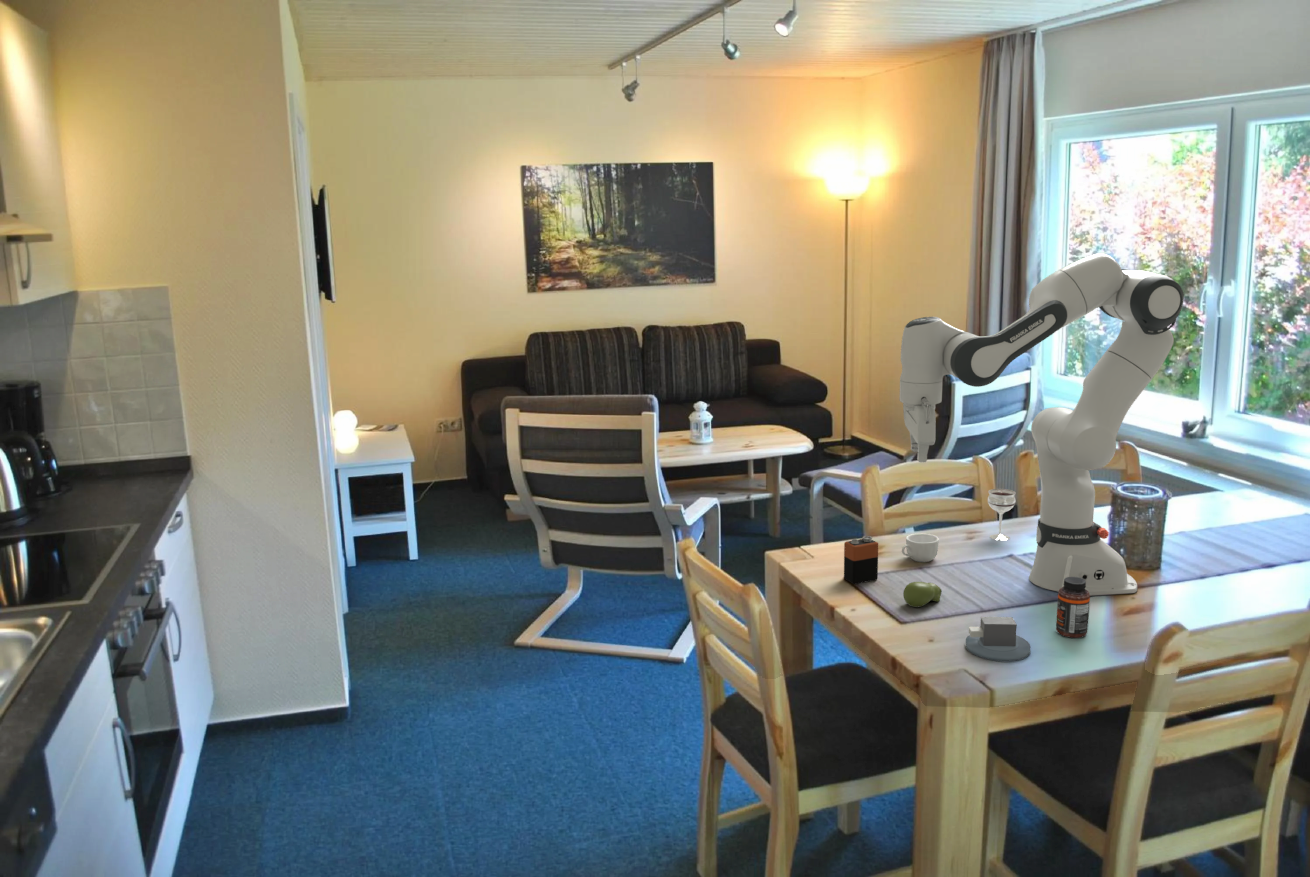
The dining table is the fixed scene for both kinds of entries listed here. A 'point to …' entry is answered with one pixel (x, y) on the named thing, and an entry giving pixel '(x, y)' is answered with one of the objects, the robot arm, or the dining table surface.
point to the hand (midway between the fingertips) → (918, 456)
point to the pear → (921, 593)
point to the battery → (861, 560)
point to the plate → (999, 650)
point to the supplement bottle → (1073, 608)
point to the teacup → (921, 547)
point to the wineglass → (1001, 506)
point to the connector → (996, 631)
